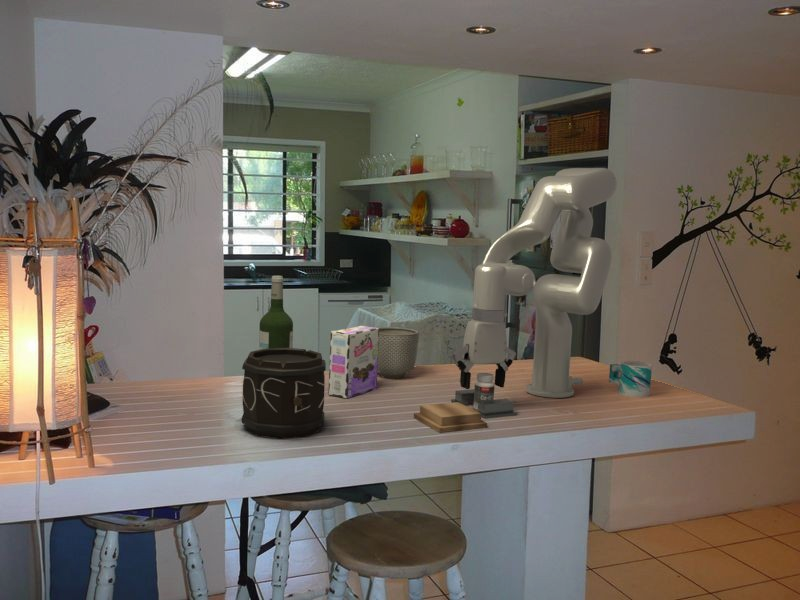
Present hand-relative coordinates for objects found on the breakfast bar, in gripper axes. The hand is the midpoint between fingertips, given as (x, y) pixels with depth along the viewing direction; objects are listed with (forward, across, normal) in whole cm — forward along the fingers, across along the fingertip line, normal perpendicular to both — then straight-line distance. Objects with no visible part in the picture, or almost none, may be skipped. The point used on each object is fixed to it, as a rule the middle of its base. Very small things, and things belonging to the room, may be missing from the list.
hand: (482, 387), depth 180 cm
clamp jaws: (+5, -1, 0) cm, 5 cm away
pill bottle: (+6, -1, 0) cm, 6 cm away
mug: (+4, -49, -2) cm, 49 cm away
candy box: (+6, +23, -24) cm, 34 cm away
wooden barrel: (+7, +49, 0) cm, 50 cm away
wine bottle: (+7, +44, -23) cm, 50 cm away
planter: (+5, +5, -38) cm, 39 cm away
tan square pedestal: (+6, +13, +8) cm, 16 cm away
